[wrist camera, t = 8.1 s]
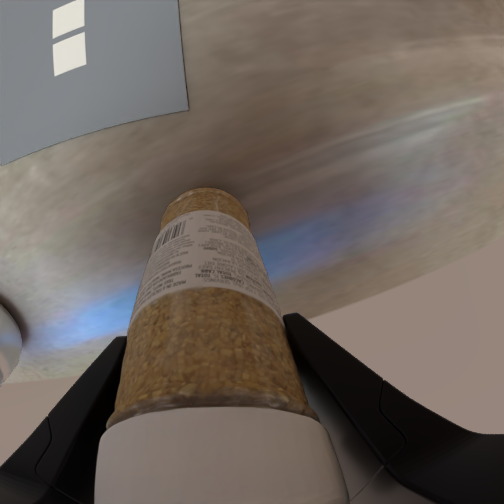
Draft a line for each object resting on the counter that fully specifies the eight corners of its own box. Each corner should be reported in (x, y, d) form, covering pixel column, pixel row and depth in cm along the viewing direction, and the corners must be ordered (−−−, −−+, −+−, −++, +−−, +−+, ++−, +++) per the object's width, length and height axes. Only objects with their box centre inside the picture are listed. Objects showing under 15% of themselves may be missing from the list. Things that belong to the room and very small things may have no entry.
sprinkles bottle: (194, 280, 16) (202, 549, 4) (143, 216, 14) (44, 513, 2) (266, 238, 16) (375, 512, 4) (220, 165, 13) (296, 510, 2)
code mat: (174, -71, 7) (174, -72, 7) (188, 110, 13) (188, 110, 13) (-5, 0, 6) (-6, 0, 6) (3, 165, 12) (1, 165, 12)
